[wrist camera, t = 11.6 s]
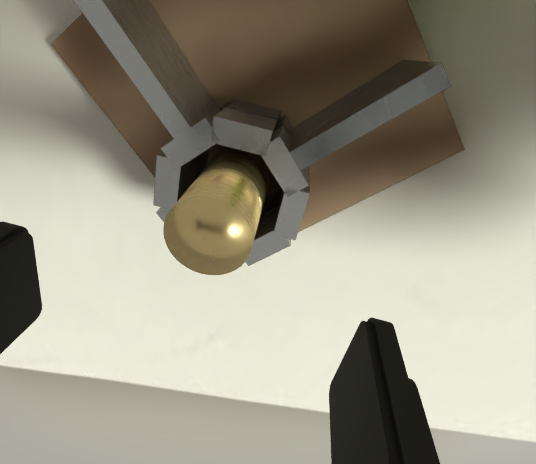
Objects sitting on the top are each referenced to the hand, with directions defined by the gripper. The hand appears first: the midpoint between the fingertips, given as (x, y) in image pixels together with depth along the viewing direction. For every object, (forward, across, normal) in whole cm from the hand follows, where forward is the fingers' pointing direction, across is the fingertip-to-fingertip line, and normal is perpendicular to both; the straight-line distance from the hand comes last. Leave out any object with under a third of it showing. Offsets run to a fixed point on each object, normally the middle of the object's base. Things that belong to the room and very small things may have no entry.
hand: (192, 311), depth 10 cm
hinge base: (+15, +1, -4) cm, 16 cm away
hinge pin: (+14, +1, 0) cm, 14 cm away
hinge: (+14, +1, -5) cm, 15 cm away
